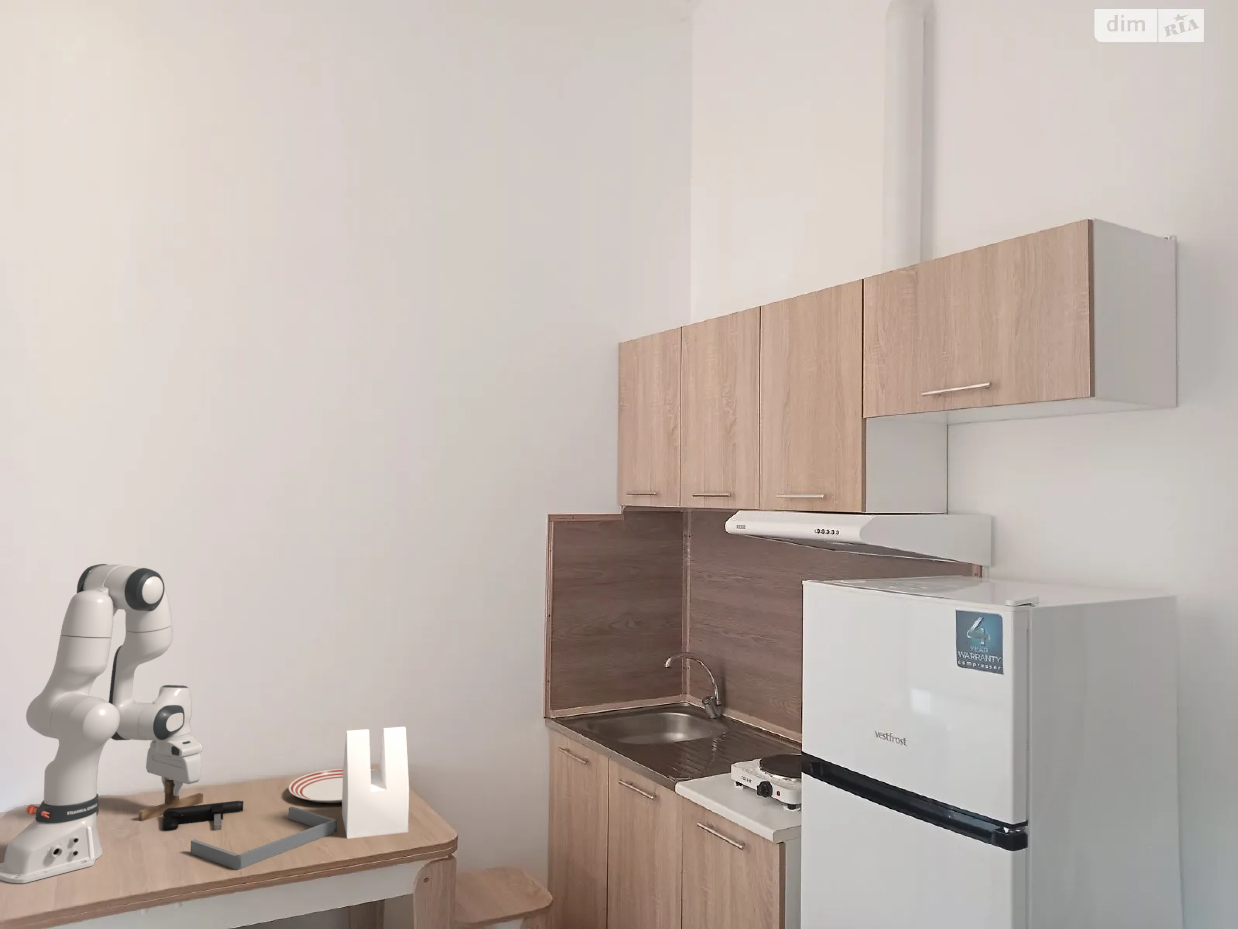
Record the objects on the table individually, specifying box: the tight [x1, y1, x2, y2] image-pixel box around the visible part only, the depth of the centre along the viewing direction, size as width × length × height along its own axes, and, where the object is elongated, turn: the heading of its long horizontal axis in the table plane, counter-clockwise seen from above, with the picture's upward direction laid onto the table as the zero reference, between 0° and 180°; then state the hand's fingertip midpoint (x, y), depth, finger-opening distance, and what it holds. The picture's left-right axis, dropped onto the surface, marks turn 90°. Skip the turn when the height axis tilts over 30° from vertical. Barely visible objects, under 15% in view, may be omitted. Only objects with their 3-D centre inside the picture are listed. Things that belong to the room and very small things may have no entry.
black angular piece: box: [162, 800, 244, 832], centre depth 253 cm, size 3×20×16 cm
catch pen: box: [190, 806, 339, 870], centre depth 239 cm, size 30×18×3 cm, turn 148°
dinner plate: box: [288, 768, 343, 804], centre depth 278 cm, size 28×27×3 cm
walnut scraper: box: [138, 779, 204, 822], centre depth 261 cm, size 18×2×8 cm, turn 148°
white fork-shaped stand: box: [341, 726, 410, 840], centre depth 255 cm, size 19×15×25 cm
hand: (172, 794), depth 261 cm, fingers closed on walnut scraper, 2 cm apart
